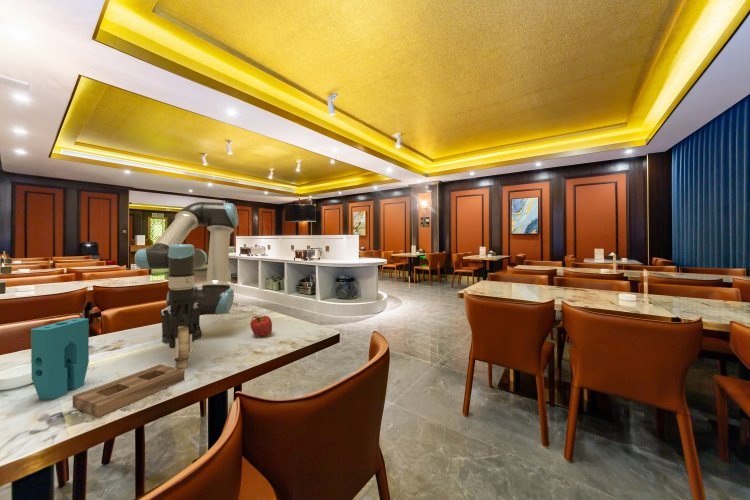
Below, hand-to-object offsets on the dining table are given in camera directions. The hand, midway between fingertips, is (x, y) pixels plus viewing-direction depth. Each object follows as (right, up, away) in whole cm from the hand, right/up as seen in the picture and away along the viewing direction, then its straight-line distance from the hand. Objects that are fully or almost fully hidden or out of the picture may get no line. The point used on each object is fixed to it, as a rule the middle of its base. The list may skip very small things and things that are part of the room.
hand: (181, 354), depth 103 cm
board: (-3, -5, -17) cm, 18 cm away
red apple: (+14, -4, +35) cm, 38 cm away
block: (-23, -5, -18) cm, 30 cm away
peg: (0, -5, 0) cm, 5 cm away
